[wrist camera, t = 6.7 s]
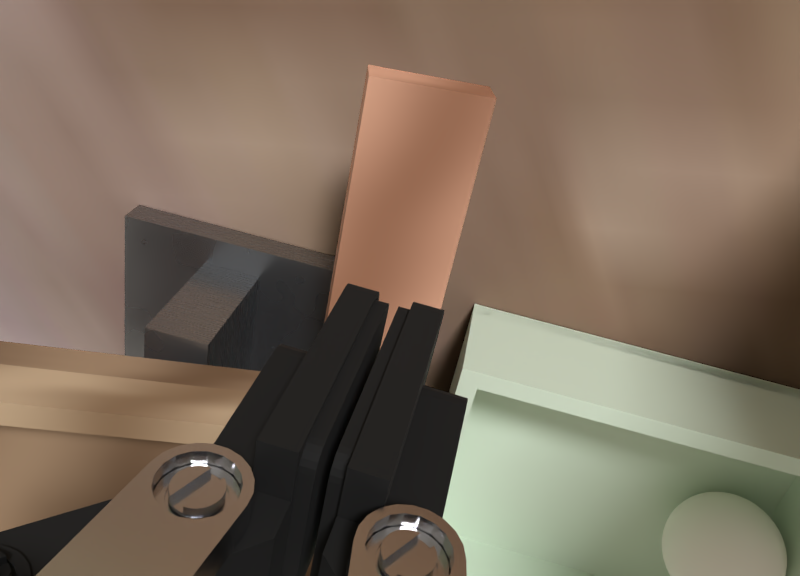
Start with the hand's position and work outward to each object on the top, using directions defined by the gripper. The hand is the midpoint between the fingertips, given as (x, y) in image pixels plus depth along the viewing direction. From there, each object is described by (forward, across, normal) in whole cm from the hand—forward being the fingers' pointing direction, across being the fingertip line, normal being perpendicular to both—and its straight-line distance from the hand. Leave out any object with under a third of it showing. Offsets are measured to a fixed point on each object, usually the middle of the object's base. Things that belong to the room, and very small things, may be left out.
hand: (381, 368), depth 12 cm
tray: (+12, -8, +11) cm, 19 cm away
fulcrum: (+12, +7, +11) cm, 18 cm away
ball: (+10, -12, +11) cm, 19 cm away
